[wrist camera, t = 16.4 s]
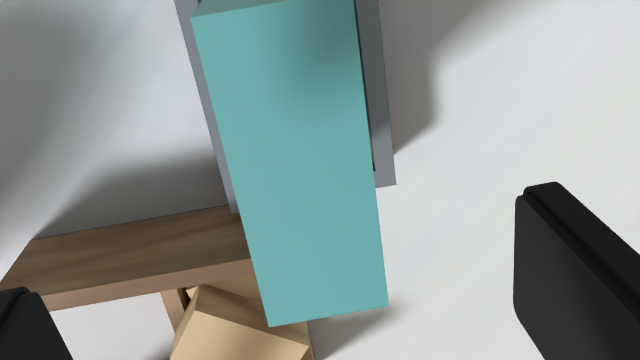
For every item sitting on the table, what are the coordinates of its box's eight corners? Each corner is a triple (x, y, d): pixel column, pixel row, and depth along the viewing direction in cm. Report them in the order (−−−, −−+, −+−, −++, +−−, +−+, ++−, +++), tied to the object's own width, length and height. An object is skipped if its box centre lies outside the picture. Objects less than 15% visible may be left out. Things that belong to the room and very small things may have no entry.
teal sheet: (227, -35, 26) (189, 17, 13) (310, -49, 26) (351, -11, 13) (267, 154, 30) (269, 327, 18) (338, 142, 30) (388, 306, 18)
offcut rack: (30, 240, 32) (-18, 306, 26) (279, 195, 32) (282, 252, 27) (108, 402, 38) (83, 482, 33) (316, 364, 38) (324, 438, 33)
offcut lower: (190, 265, 34) (185, 290, 32) (249, 244, 34) (248, 268, 32) (236, 342, 37) (234, 369, 35) (289, 323, 37) (291, 350, 35)
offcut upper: (176, 330, 33) (169, 360, 31) (199, 281, 32) (194, 310, 29) (279, 361, 35) (280, 392, 33) (306, 317, 34) (309, 346, 31)
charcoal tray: (166, -73, 25) (155, -70, 22) (356, -105, 25) (366, -107, 23) (234, 188, 31) (231, 214, 29) (385, 161, 32) (396, 184, 29)
